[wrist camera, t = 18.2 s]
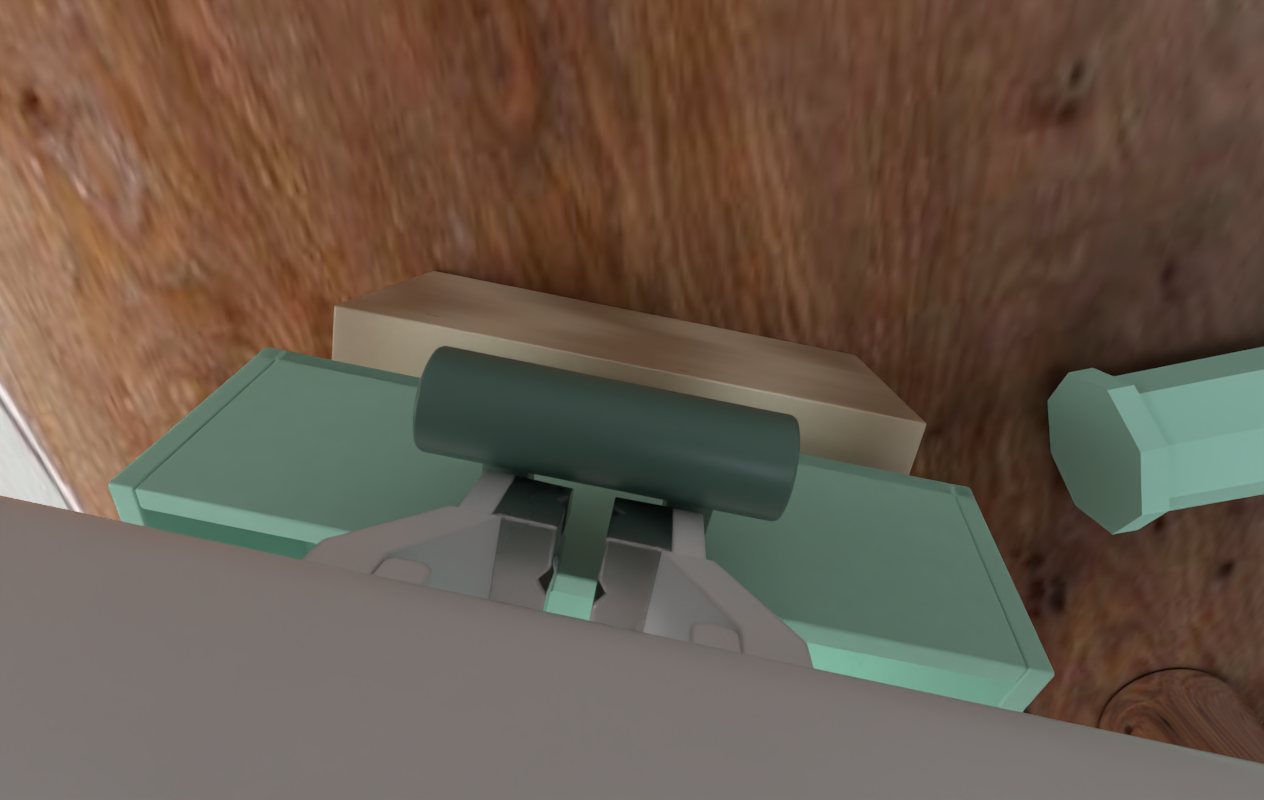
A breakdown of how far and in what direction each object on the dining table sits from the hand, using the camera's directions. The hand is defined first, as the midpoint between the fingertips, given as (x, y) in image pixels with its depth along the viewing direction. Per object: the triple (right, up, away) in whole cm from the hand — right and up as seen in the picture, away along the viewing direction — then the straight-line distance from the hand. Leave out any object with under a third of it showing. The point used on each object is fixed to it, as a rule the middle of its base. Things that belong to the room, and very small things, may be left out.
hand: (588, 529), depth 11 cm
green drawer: (0, -1, +7) cm, 7 cm away
